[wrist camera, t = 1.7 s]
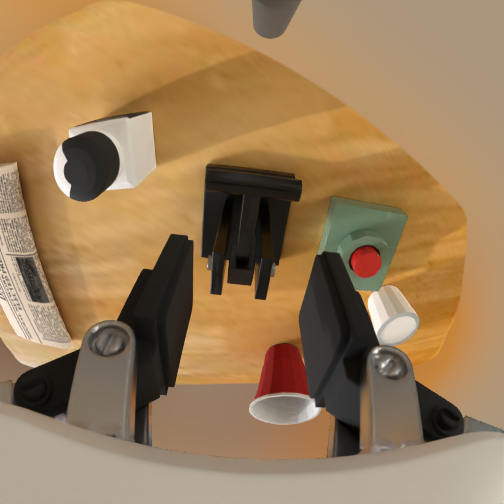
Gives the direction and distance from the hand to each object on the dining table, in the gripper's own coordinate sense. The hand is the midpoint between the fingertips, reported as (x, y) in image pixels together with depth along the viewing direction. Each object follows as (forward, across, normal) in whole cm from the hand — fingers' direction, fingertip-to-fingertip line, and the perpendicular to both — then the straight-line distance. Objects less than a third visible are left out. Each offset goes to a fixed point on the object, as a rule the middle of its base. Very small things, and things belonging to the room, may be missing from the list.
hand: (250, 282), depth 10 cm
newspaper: (+26, +42, +22) cm, 54 cm away
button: (+22, -15, +11) cm, 29 cm away
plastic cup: (+26, -9, +34) cm, 43 cm away
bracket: (+25, 0, +9) cm, 27 cm away
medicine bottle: (+26, +15, +1) cm, 30 cm away
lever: (+13, 0, +4) cm, 14 cm away
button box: (+25, -15, +11) cm, 31 cm away
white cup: (+26, -23, +20) cm, 40 cm away
